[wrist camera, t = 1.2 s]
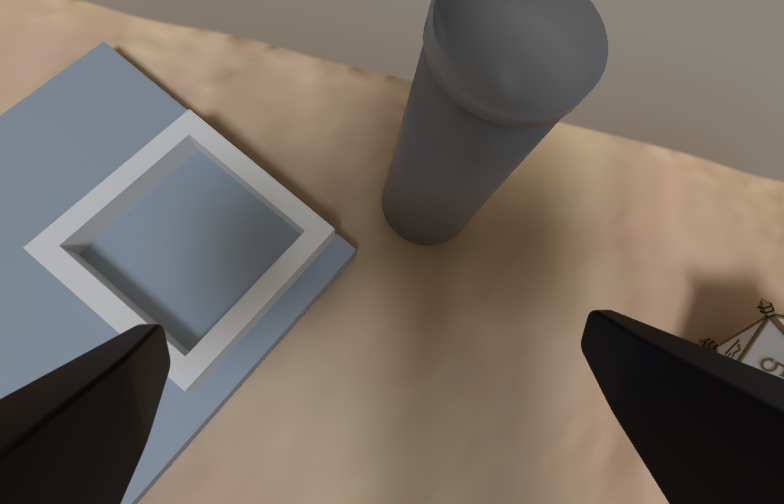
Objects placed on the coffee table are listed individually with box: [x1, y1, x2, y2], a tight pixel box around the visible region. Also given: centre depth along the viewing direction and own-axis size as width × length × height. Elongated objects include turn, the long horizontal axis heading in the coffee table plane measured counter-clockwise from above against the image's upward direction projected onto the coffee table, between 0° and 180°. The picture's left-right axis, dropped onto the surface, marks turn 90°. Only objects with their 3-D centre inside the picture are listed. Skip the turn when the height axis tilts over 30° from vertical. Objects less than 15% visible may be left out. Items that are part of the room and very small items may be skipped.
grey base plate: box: [0, 42, 357, 504], centre depth 20 cm, size 18×16×3 cm
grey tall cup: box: [382, 0, 608, 245], centre depth 18 cm, size 5×5×13 cm
